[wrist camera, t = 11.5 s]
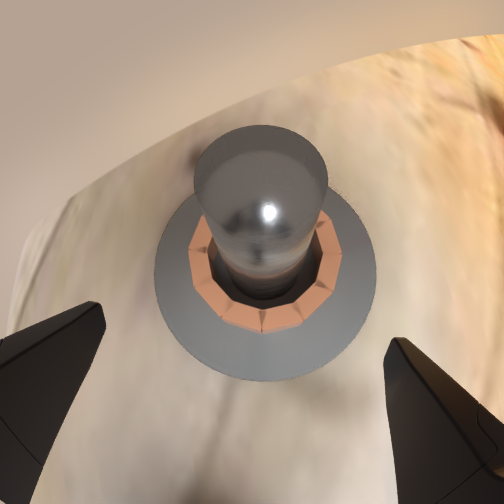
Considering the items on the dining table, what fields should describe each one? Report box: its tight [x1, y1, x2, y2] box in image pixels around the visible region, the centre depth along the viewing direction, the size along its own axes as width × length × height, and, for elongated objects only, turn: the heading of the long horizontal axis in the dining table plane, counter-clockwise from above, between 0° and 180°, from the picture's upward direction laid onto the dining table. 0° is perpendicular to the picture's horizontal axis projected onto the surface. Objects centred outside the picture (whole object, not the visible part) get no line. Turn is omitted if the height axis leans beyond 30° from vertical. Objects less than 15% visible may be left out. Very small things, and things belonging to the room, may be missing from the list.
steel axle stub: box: [194, 125, 328, 300], centre depth 16 cm, size 5×5×11 cm
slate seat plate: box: [154, 187, 376, 382], centre depth 21 cm, size 16×16×4 cm
